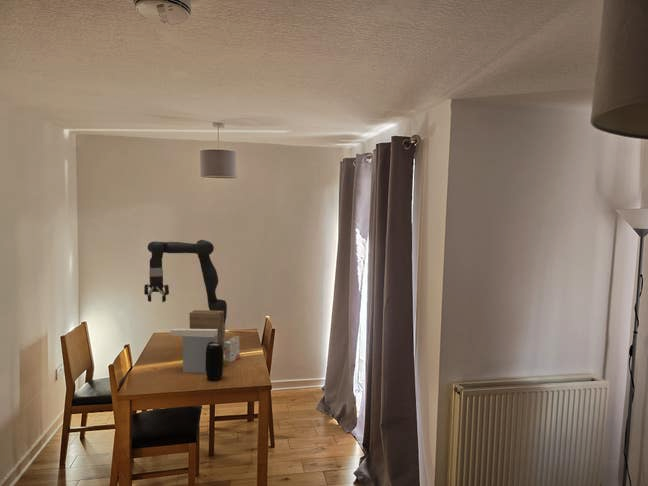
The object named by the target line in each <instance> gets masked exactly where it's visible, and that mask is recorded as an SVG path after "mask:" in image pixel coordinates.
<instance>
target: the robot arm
mask: <svg viewBox="0 0 648 486" xmlns="http://www.w3.org/2000/svg"><path fill="white" fill-rule="evenodd" d="M214 250H215V247H214V244H213V243H212V242H210V241H208V240H205V239H200V240H197V242H196V243H191V242H190V243H189V242H182V241H166V242H165V241H154V240H153V241H151V242H149V243H148V244H147V251H148V252H150V253H151V257H150V258H149V272H148V273H149V274H148V275H149V284H148V283H147V284H144V285H143V286H144V291H143V292H144V293H143V294H144V295H146V296H147V301H148V303H150V302H152V294H153V293H155V292H156V293H160V295H162V297H161V302H162V303H165V302H166V301H167V296H168V295H170V290H169V289H170V288H169V284H164V271H163V269H164V268H163V256H164V253H165V254H194V255H197V257H198V260H199V264H200V269H201V274H202V279H203V282H204V287H205V291H206V297H207V305H208V309H209V310H208V311H224V342H226V320H227V315H228V314H227V313H228V305H227V304H228V303H227V301H226V300H225V299H220V298H217V293H216V291H217V287H218V285H219V277H218V276H219V275H218V271H217V269H216V267H215V266H214V263H213V261H212V259H211V256H210V255H211V254H212V253H213V252H214ZM163 288H164V289H163ZM224 348H225V345H224Z"/></svg>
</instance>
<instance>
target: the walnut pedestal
mask: <svg viewBox="0 0 648 486" xmlns="http://www.w3.org/2000/svg"><path fill="white" fill-rule="evenodd" d="M189 329H218V342H221V343H222V350H223V364H225V349H224V311H210V310H204V309H203V310H199V309H198V310H196V309H195V310H192V311H191V312H189Z"/></svg>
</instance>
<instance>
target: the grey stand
mask: <svg viewBox="0 0 648 486" xmlns="http://www.w3.org/2000/svg"><path fill="white" fill-rule="evenodd" d="M209 342H218V335H217V336H182V373H188V374H189V373H190V374H192V373H193V374H194V373H195V374H206V348H207V344H208V343H209Z"/></svg>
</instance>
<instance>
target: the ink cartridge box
mask: <svg viewBox="0 0 648 486" xmlns="http://www.w3.org/2000/svg"><path fill="white" fill-rule="evenodd" d="M224 345H225V349H224V362H229V363H230V362H231V363H232V362H234V361H236V360H238V359H240V335H235V336H233V337H230V338H229V340H227V341H225V342H224Z"/></svg>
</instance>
